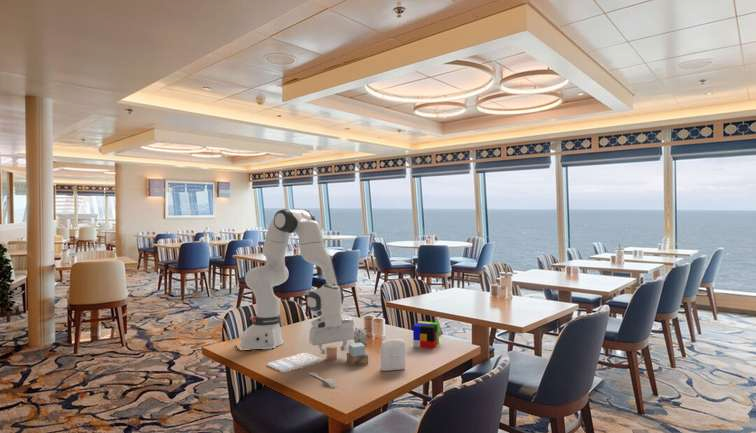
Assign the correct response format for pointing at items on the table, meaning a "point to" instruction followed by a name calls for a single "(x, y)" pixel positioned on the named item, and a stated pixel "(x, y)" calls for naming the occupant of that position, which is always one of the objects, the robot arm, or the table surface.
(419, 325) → the puzzle toy
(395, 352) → the photo printer
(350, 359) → the walnut block
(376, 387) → the table surface
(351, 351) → the blue-grey cube
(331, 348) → the terracotta capsule
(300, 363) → the calculator
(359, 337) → the game die
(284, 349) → the table surface
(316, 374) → the fork
